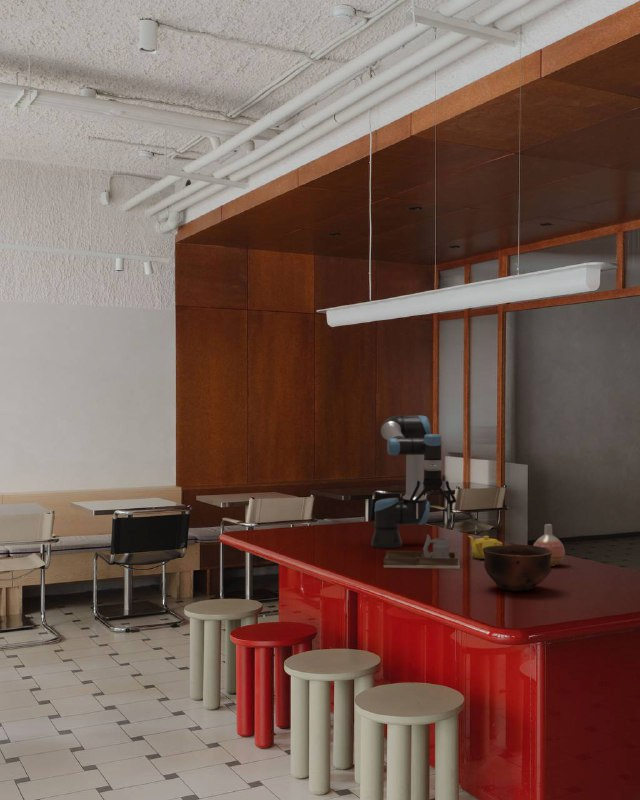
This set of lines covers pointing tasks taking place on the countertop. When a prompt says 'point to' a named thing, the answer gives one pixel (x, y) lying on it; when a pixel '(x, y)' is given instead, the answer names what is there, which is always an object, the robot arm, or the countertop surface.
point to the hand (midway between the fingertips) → (432, 518)
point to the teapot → (482, 545)
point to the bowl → (517, 566)
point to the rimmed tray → (419, 560)
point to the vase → (551, 545)
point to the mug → (437, 548)
